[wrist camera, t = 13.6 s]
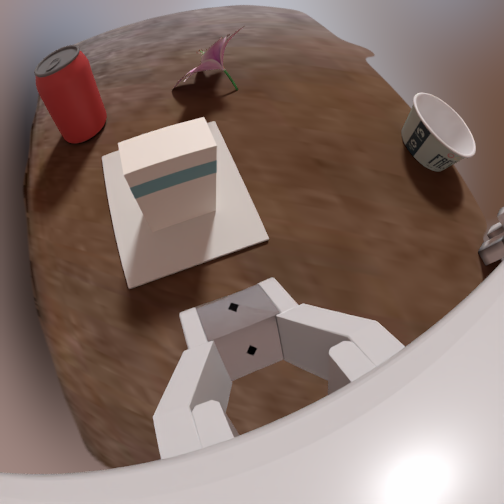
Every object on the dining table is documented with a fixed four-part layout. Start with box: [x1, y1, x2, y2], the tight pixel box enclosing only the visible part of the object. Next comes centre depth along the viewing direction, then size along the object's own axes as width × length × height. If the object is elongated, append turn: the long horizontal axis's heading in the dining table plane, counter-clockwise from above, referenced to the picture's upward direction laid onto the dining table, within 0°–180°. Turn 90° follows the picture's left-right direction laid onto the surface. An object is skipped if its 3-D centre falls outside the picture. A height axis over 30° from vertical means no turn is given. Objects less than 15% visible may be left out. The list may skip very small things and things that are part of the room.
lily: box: [172, 27, 243, 90], centre depth 31 cm, size 12×12×10 cm
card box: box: [118, 117, 217, 232], centre depth 22 cm, size 3×6×10 cm, turn 112°
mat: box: [102, 121, 269, 289], centre depth 28 cm, size 16×14×1 cm
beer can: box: [34, 45, 107, 143], centre depth 24 cm, size 7×7×12 cm
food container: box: [402, 93, 476, 171], centre depth 33 cm, size 12×12×6 cm
